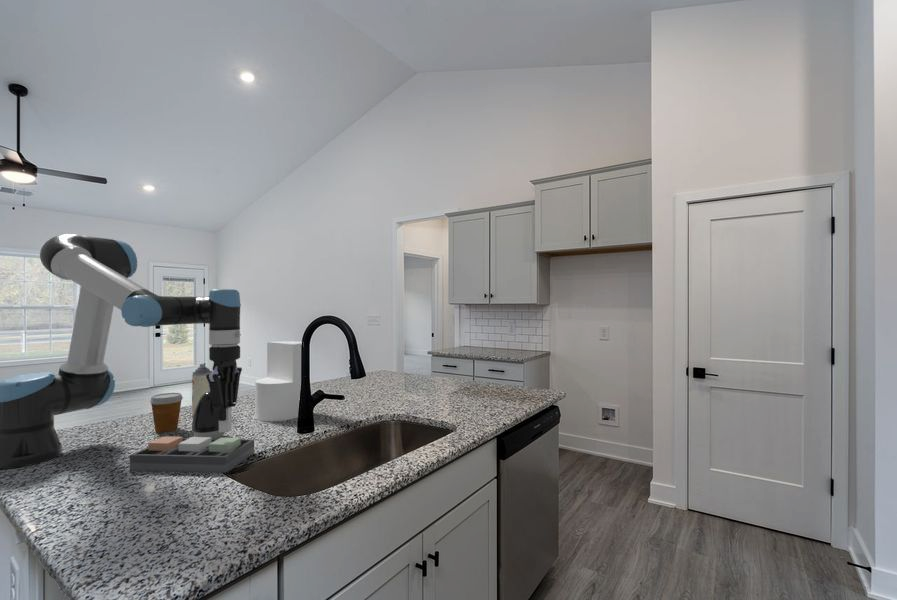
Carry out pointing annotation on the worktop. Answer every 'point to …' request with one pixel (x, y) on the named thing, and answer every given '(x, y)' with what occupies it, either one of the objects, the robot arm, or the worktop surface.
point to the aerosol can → (199, 385)
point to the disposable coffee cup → (166, 411)
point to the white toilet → (279, 383)
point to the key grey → (194, 444)
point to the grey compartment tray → (191, 459)
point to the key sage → (224, 444)
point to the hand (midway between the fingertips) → (225, 431)
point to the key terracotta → (164, 443)
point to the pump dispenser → (206, 419)
